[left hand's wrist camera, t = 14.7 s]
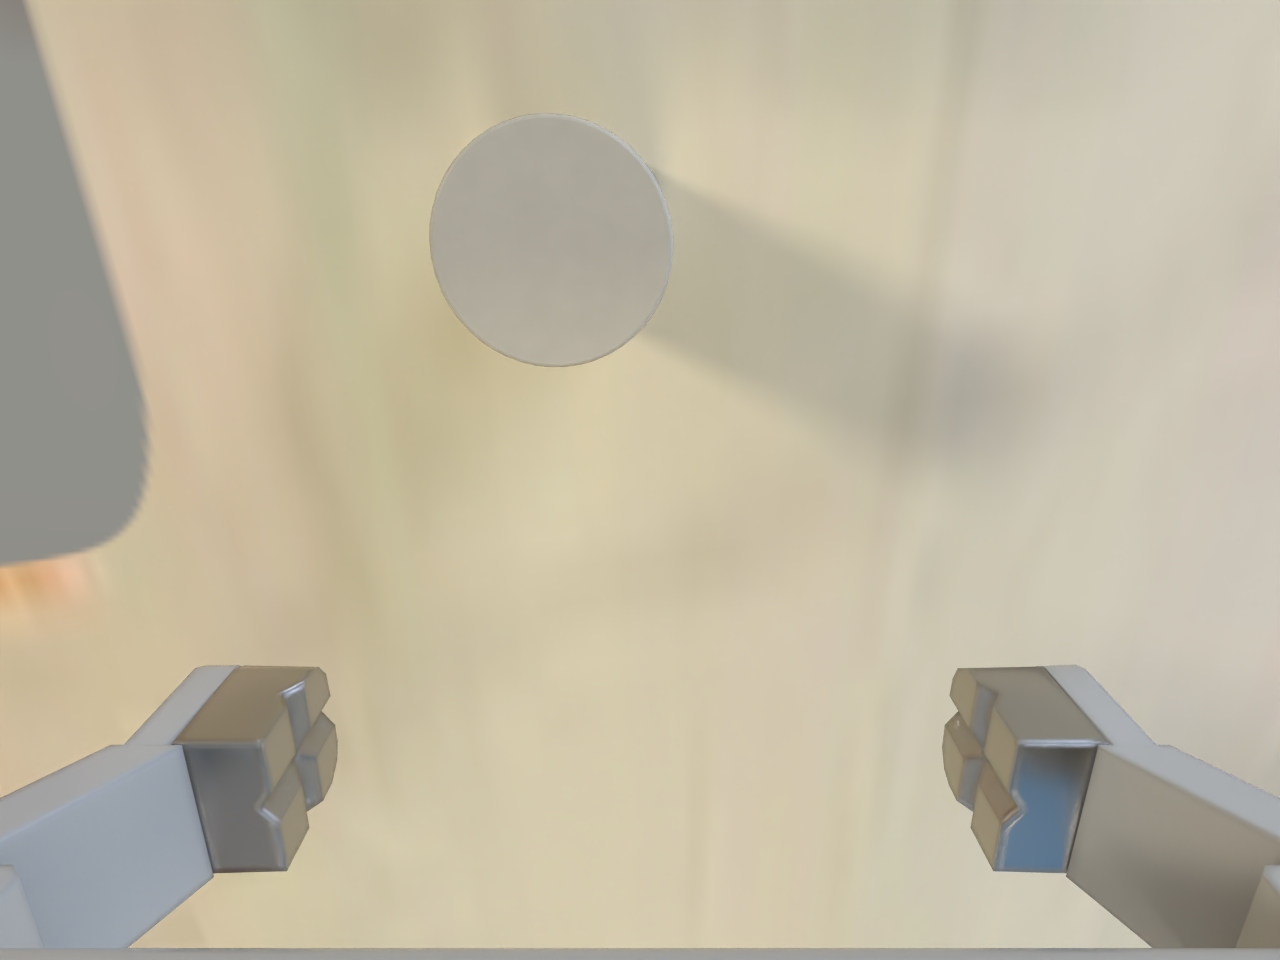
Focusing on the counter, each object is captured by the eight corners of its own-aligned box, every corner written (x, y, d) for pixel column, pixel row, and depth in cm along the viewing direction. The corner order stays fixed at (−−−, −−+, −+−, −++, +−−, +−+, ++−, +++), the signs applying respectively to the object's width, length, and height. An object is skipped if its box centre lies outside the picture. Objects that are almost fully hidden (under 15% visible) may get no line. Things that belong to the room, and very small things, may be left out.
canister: (583, 332, 25) (549, 414, 16) (478, 220, 24) (377, 238, 15) (692, 230, 24) (723, 256, 15) (588, 107, 23) (552, 52, 14)
